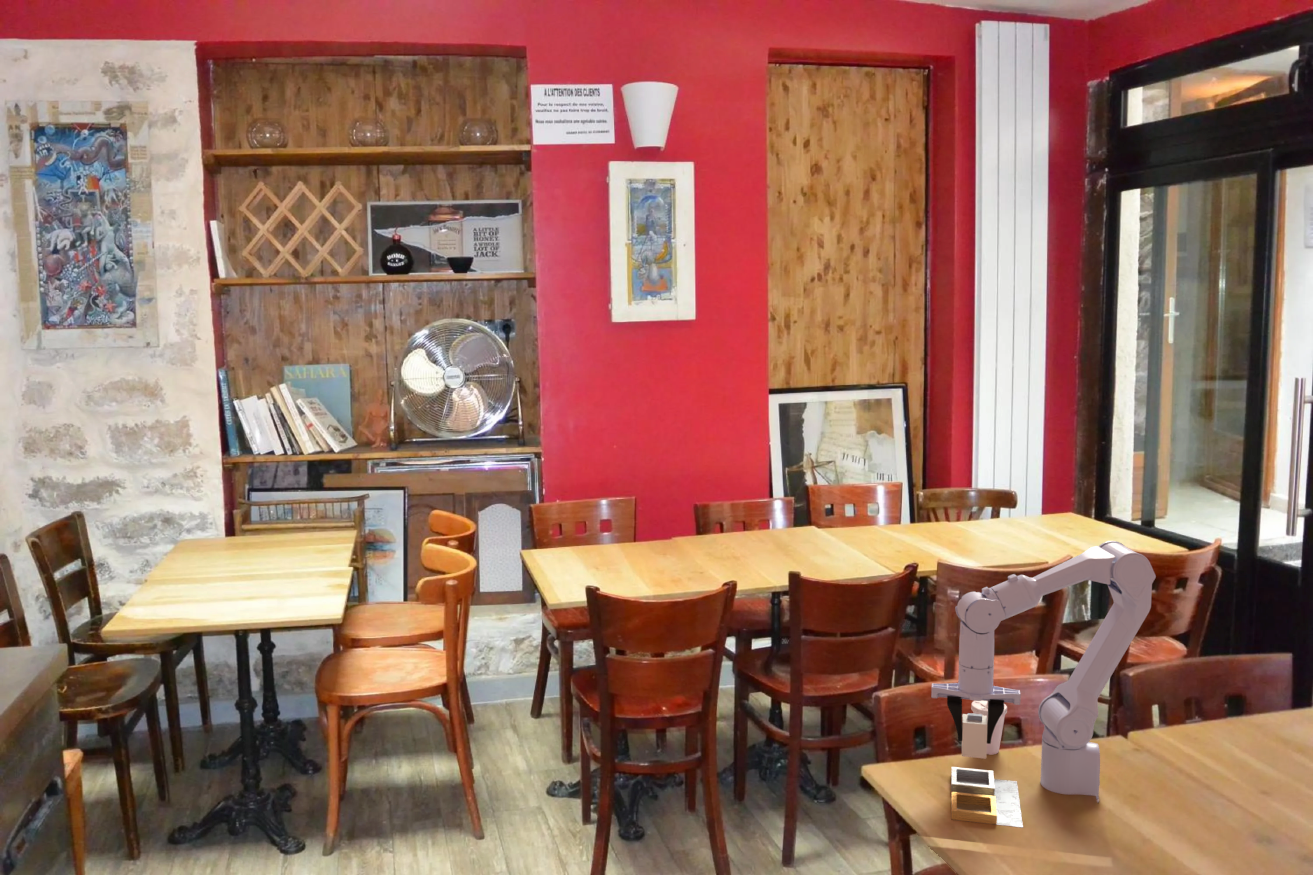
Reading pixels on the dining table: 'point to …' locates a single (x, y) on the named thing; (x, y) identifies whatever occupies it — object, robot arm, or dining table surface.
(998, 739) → the smoothie
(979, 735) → the plug
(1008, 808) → the panel
